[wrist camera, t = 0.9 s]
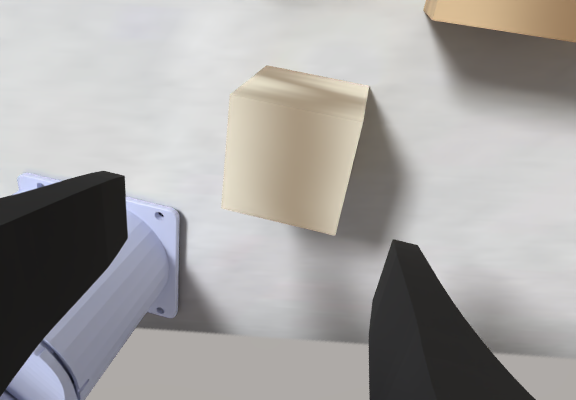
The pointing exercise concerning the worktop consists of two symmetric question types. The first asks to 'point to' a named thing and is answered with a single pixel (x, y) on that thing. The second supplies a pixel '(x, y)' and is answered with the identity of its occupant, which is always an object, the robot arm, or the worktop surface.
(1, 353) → the robot arm
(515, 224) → the worktop surface
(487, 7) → the oak block
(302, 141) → the birch block
